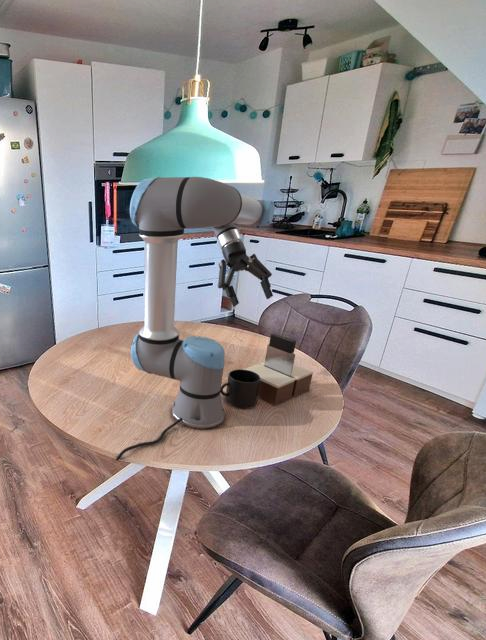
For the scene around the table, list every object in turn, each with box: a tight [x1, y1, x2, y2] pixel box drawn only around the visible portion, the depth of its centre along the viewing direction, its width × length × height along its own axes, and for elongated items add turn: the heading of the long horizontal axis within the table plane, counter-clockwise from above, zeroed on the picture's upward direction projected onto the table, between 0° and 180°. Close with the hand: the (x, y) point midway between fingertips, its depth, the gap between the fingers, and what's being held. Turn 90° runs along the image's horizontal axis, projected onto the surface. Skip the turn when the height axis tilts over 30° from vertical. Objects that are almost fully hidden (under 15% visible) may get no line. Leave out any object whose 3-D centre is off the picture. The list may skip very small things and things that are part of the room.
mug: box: [220, 368, 260, 409], centre depth 121 cm, size 9×12×9 cm
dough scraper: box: [264, 333, 297, 377], centre depth 125 cm, size 2×10×12 cm, turn 32°
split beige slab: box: [242, 361, 314, 406], centre depth 129 cm, size 18×14×7 cm
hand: (253, 301), depth 131 cm, fingers open, 13 cm apart
